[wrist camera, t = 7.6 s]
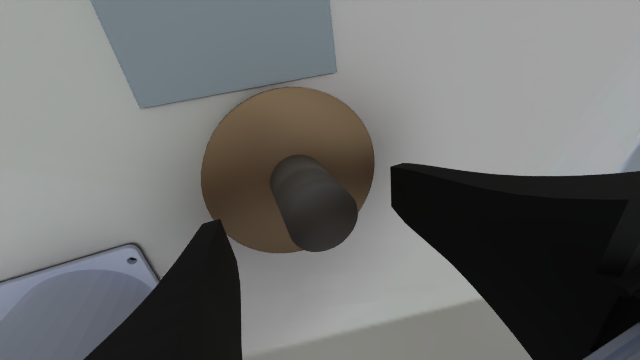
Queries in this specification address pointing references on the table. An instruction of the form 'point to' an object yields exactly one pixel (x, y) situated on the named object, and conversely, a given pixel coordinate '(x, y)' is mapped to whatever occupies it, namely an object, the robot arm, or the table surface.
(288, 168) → the lid
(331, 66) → the mat
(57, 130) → the table surface
